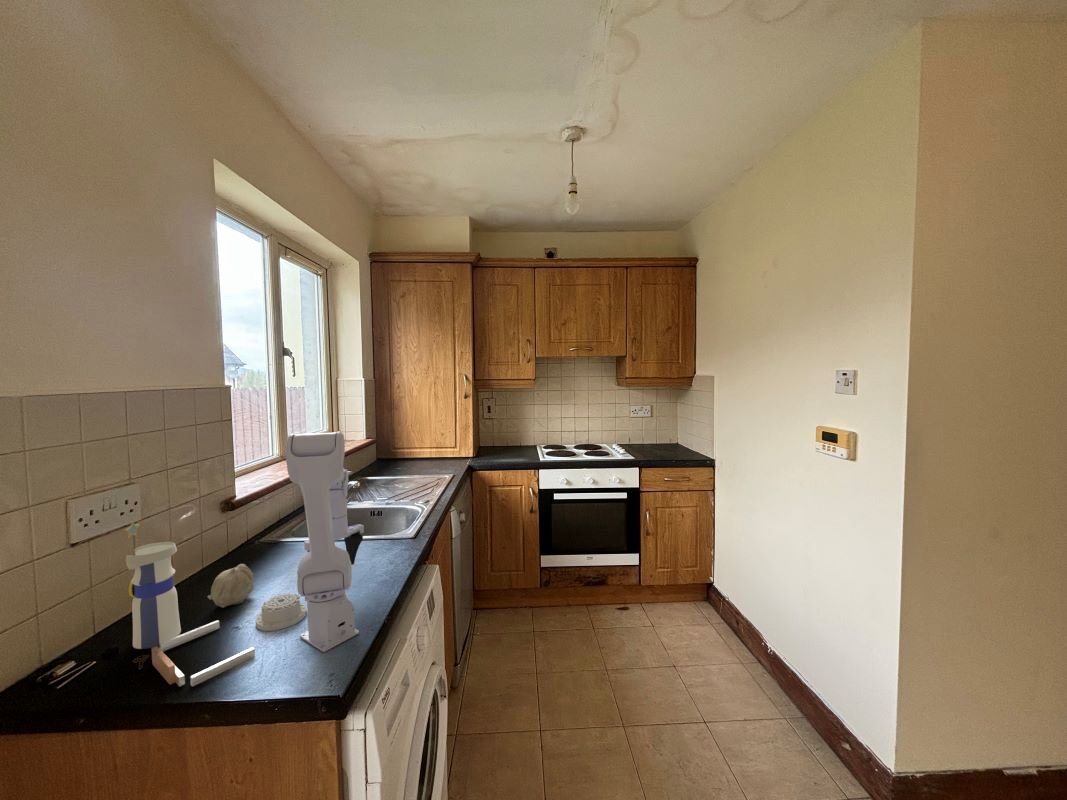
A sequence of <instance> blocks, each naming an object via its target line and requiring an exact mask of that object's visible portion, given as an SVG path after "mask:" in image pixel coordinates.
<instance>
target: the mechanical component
mask: <svg viewBox="0 0 1067 800" xmlns="http://www.w3.org/2000/svg"><path fill="white" fill-rule="evenodd" d="M300 597H301V595H300V594H298V593H294V594H292V593H288V592H287V593H285V594H278V595H275V596H273V597H270V598H269V599H268V600H266V601H264V602H263V604H262V605H261V612H260V613H259V614H258V615H257V616H256V618H255V627H256V629H258V630H260V631H263V632H264V631H265V632H269V631H271V632H272V631H273V632H274V631H279V630H283V629H286V628H289V627H292V626H294V625H296V624H297V623H299V622H300V621H302V620H303V619H304V618H305V617H306V615H307V614H308V610H307V605H306V604H304V603H302V602H301V598H300Z"/></svg>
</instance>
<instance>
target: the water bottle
mask: <svg viewBox="0 0 1067 800" xmlns="http://www.w3.org/2000/svg"><path fill="white" fill-rule="evenodd" d="M130 523H131V524H130V526H129V527H128V528H126V529H125V531H126V532H128V533H127V534H128V535H127V539H129V538H131V536H136V535H138V533H137V529H138V528H139V526H140V523H139V524H135V522H134V521H131V522H130ZM133 551H134V555H130V554H127V555H126V556H125V564H126V567H127V569H128V570H131V571H132V570H134V573H133V576H132V579H131V580H130V583H129V585H128V594H129V597H131V598H133V599H132V602H131V603H132V604H131V605H132V606H131V609H132V610H131V611H132V647H133V648H134V649H137V650H143V649H144V650H145V649H151V648H153V647H155V646H157V647H159V643H161V642H164V641H166V640H169V639H171V638H174V637H177V636H179V635H181V632H182V628H181V621H180V613H179V602H178V601H179V600H178V591H177V589H176V587H175V585H174V584H175V582H174V574H176V569H175V568H173V566H172V556H174V555H175V554H176V553H177V552H178V549H177V546H176V543H175V542H173V541H163V542H162V541H161V542H155V543H154V542H153V543H149V544H145V545H141V546H137V547H135V548H134V549H133Z"/></svg>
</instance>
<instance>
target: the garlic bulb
mask: <svg viewBox="0 0 1067 800" xmlns="http://www.w3.org/2000/svg"><path fill="white" fill-rule="evenodd" d="M254 577H255V576H254V572H253V571H252V570H251V569H250V568H249V567H248V566H247V565H246V564H245V563H240V564H238V565H237V566H235V567H233V568H229V569H227V570H223V571H221V572H220V573H219V574H218V575H217V576H216V577H215V578H214V580H213V583H212V585H211V588H210V594H209V595H207V599H209V600H212V601H213V602H214V605H216V606H218V607H220V608H223V609H224V608H226V607H229V606H236V605H237V606H238V604H241V603H244V601H245V599H246V598H248V596H249V595H250V594H252V593H253V591H254V589H255V585H254V581H255V579H254Z"/></svg>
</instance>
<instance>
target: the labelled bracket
mask: <svg viewBox="0 0 1067 800" xmlns="http://www.w3.org/2000/svg"><path fill="white" fill-rule="evenodd" d="M220 626H221V625H220V620H214V621H212V622H210V623H207V624H205V625H202V626H199V627H197V628H194V629H192V630H189V631H187V632H184V633H182V634H179V635H178V636H177V637H174V638H171V639H169V640H166V641H164V642H161V643H159V645H158V646H155V647H151V648H150V649H151V660H152V661H151V662H152V663H151V664H152V666H153V667H154V668H155V669H156V670H157V672H158V673H160V675H161V676H162V678H164V680H165V681H166V682H167V684H169V685H172V684H177V686H178V687H182V686H184V685H185V684H186V677H185V674H184V673H183V672H182V671H181V670H180V669H179V668H178V666H176V665H175V663H174V662H173V661H172V660H171V659H170V658H169V657H168V656H167V655H166V654H165V653H164V652H166V651H168V650H170V649H174V648H176V647H178V646H180V645H182V644H185V643H187V642H191V641H193V640H195V639H197V638H199V637H202V636H204V635H208V634H209V633H212V632H215V631H216V630H218V629H221V628H220ZM255 650H256V649H255V648H254V647H253V646H252V647H250V648H248V649H246V650H243V651H241V652H240V653H239V652H238V653H236V654H235V655H233V656H230V657H229V658H226V659H225V660H222V661H220V662H218V663H216V664H214V665H211V666H209V667H208V668H205V669H203V670H201V671H199V672H197V673H195V674H192V675H190V686H191V687H195V686H197V685H199V684H201V683H204V682H205V681H207V680H209V679H211V678H213V677H215V676H217V675H219V674H222V673H223V672H226V671H228V670H230V669H232V668H234V667H236V666H238V665H240V664H243V663H245V662H247V661H249V660H250V659H252V658H255V657H256V654H255V653H256V652H255Z"/></svg>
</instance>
